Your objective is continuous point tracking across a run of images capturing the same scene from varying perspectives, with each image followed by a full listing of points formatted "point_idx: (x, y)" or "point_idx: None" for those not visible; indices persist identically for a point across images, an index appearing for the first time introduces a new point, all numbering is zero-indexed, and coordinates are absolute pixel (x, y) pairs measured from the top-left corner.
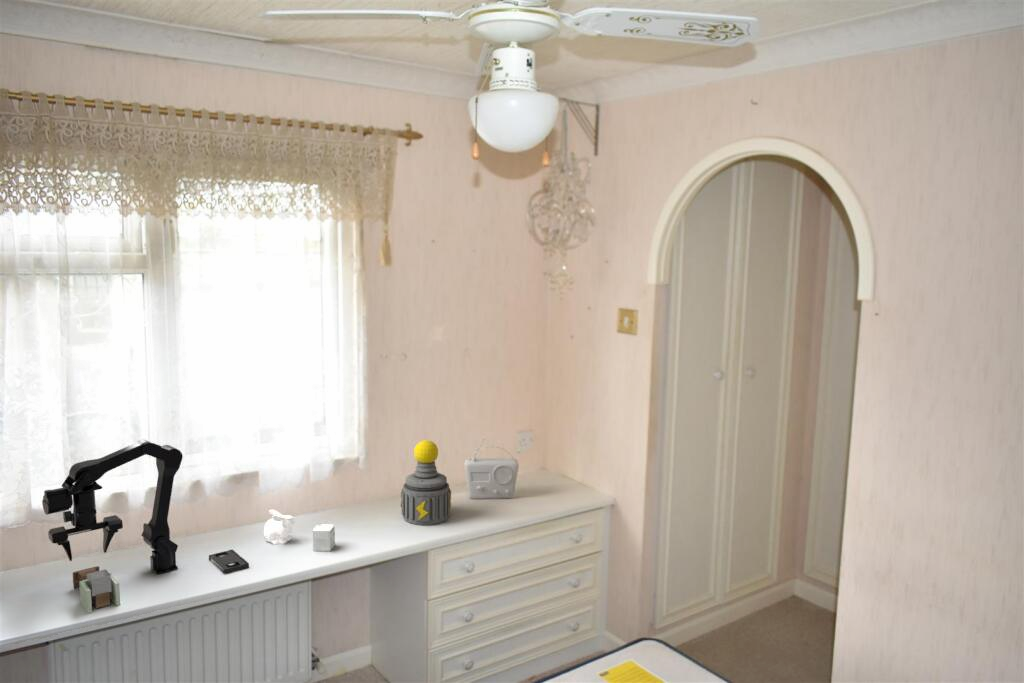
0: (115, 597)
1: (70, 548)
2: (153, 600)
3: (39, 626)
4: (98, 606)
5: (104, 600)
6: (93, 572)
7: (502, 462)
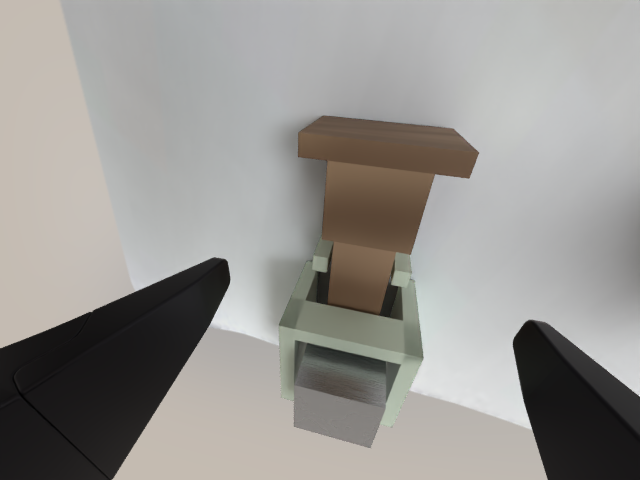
0: None
1: (130, 449)
2: (471, 388)
3: None
4: None
5: None
6: (325, 393)
7: None
